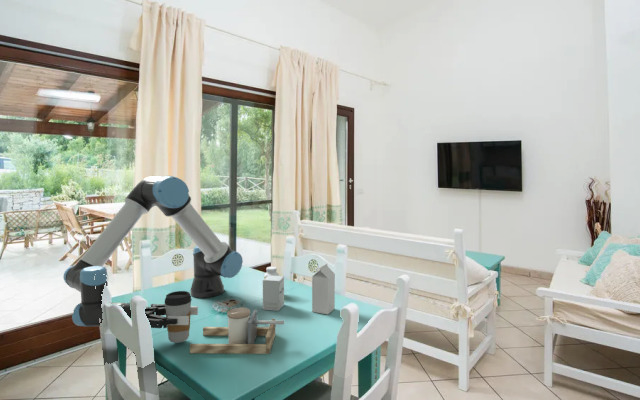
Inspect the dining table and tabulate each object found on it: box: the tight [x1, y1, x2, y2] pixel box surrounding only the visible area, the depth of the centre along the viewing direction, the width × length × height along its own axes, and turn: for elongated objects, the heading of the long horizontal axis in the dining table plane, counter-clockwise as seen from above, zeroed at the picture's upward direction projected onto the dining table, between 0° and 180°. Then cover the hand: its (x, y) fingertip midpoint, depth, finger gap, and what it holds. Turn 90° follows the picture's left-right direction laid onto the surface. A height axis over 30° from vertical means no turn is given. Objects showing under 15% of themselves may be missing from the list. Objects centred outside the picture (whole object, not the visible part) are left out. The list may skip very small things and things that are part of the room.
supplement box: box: [262, 275, 285, 312], centre depth 148 cm, size 7×7×13 cm
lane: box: [189, 318, 276, 355], centre depth 117 cm, size 25×13×6 cm, turn 90°
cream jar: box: [226, 307, 251, 344], centre depth 116 cm, size 7×7×11 cm
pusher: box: [248, 309, 285, 344], centre depth 116 cm, size 11×10×9 cm
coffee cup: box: [164, 290, 192, 344], centre depth 116 cm, size 8×8×15 cm
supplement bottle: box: [263, 266, 280, 280], centre depth 163 cm, size 7×7×13 cm
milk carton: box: [311, 263, 336, 315], centre depth 144 cm, size 7×7×19 cm
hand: (193, 315), depth 116 cm, fingers closed on coffee cup, 7 cm apart
